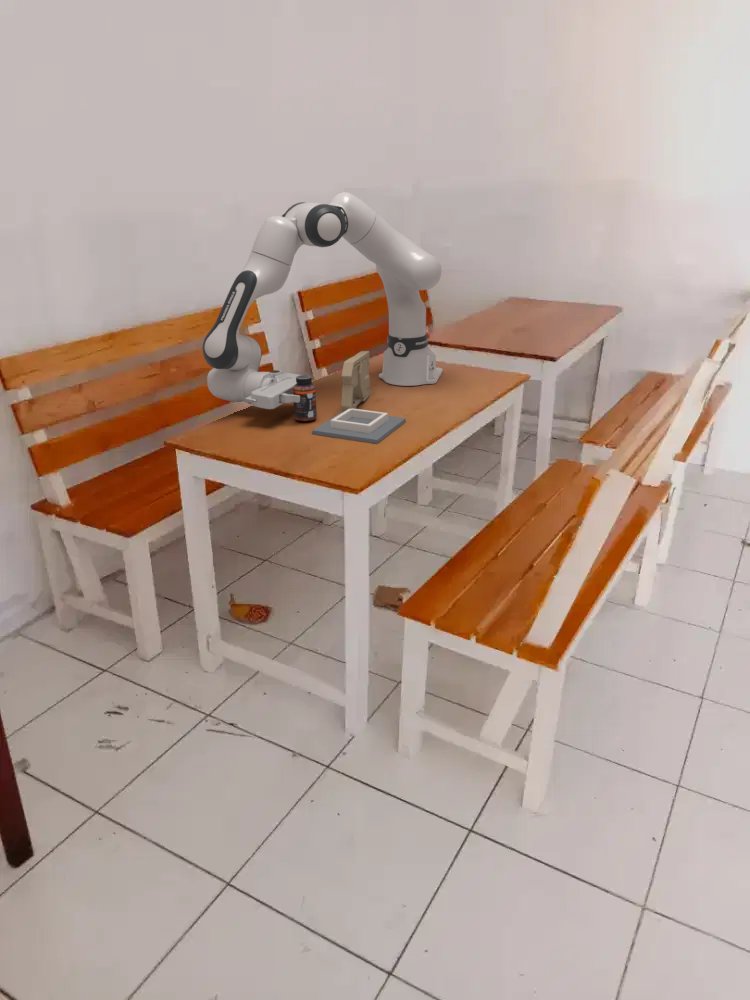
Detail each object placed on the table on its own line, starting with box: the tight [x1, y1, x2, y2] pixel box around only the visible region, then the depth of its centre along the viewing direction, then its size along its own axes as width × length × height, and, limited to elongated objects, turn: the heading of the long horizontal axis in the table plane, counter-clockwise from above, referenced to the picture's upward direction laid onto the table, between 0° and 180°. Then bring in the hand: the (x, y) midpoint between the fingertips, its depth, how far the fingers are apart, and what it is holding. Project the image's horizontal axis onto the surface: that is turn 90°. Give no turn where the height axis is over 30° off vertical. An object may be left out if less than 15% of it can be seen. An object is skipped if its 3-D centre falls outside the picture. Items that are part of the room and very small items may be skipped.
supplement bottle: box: [293, 374, 318, 422], centre depth 206 cm, size 6×6×11 cm
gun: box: [340, 350, 372, 413], centre depth 217 cm, size 24×3×15 cm, turn 168°
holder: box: [311, 408, 407, 445], centre depth 202 cm, size 18×18×3 cm
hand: (307, 394), depth 205 cm, fingers closed on supplement bottle, 6 cm apart
